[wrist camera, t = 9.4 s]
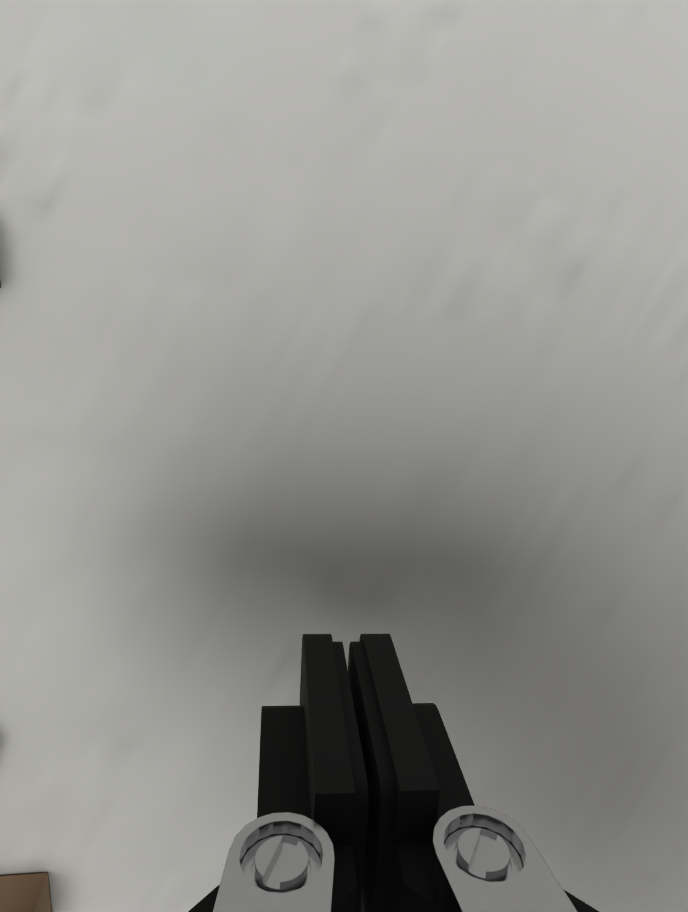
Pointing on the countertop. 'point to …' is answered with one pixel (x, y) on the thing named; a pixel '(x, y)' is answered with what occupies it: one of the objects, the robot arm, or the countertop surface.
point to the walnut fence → (25, 893)
